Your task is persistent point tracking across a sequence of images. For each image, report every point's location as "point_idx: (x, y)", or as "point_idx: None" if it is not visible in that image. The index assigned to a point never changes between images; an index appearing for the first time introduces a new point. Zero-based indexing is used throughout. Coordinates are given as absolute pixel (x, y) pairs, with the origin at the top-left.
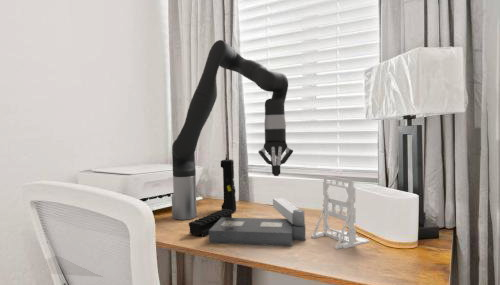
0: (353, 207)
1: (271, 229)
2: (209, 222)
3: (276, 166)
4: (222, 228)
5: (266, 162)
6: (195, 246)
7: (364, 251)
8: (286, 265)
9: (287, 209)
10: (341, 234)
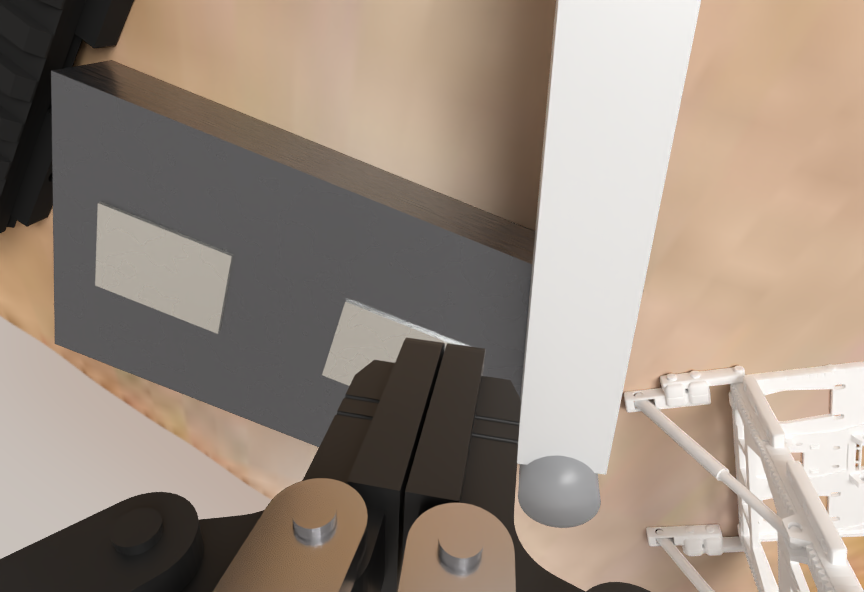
0: None
1: None
2: (6, 175)
3: (397, 587)
4: (117, 334)
5: (99, 531)
6: (54, 329)
7: (743, 585)
8: None
9: (527, 369)
10: (695, 586)
